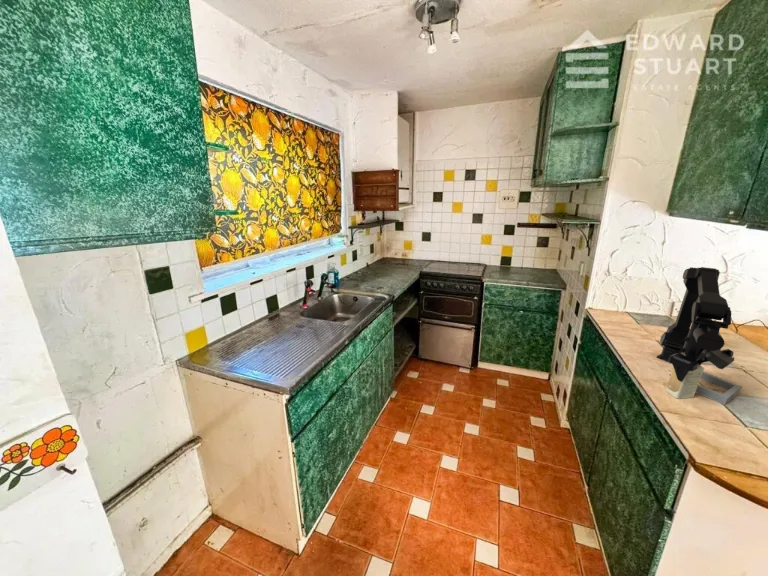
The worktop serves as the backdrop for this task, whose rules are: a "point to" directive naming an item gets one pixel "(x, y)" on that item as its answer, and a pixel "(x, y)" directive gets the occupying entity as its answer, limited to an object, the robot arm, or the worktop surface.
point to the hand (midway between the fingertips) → (685, 377)
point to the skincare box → (684, 384)
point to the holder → (731, 387)
